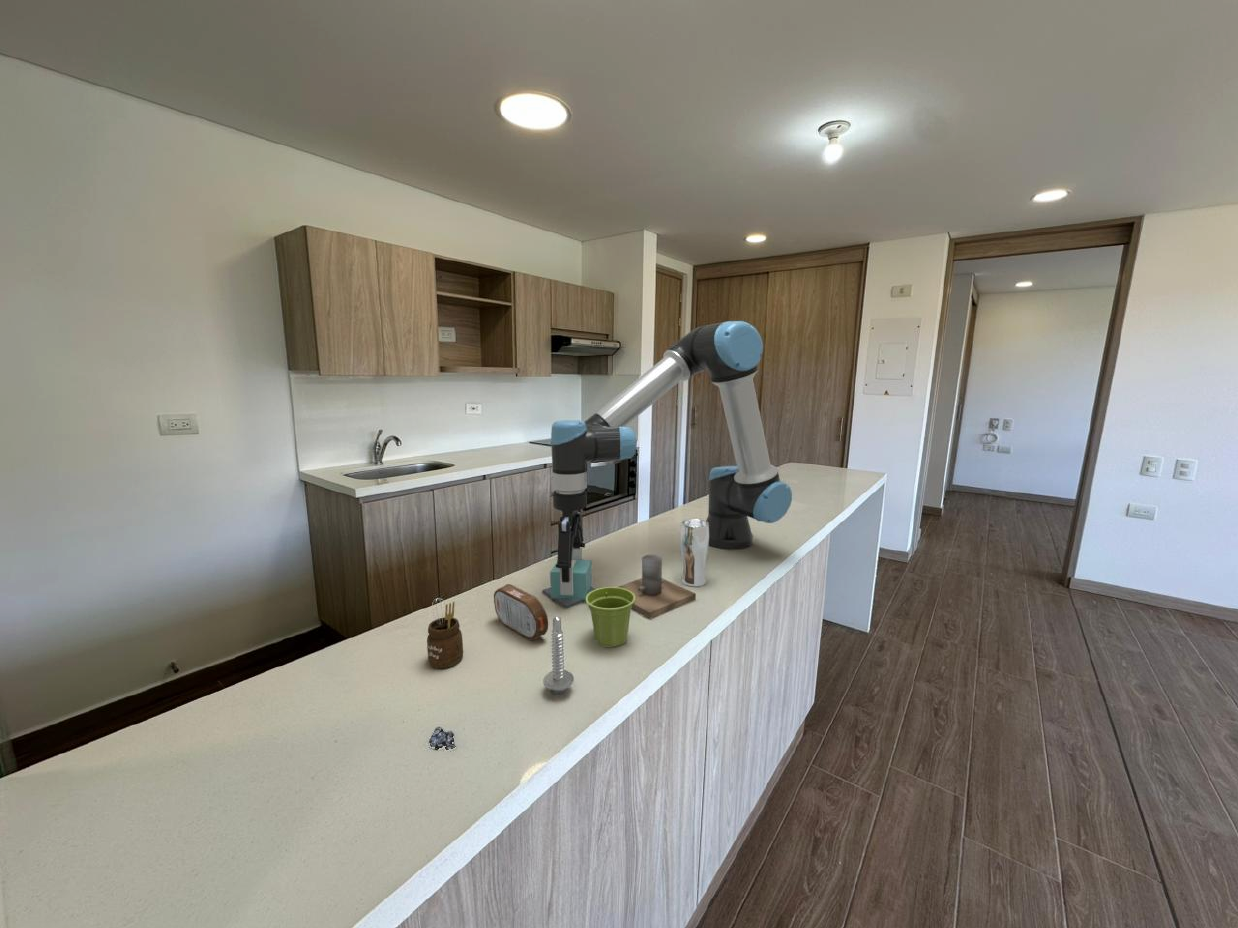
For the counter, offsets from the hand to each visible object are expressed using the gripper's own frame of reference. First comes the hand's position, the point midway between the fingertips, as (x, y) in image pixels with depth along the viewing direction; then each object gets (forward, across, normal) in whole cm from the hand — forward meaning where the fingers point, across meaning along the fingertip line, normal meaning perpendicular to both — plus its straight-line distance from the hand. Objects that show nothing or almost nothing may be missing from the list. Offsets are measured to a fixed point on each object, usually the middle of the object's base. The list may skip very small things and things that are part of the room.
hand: (572, 583), depth 112 cm
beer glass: (+3, -10, +28) cm, 30 cm away
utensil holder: (+3, +28, -17) cm, 33 cm away
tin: (+3, +17, -7) cm, 19 cm away
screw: (+3, +35, +5) cm, 35 cm away
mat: (+3, 0, 0) cm, 3 cm away
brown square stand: (+3, 0, +18) cm, 19 cm away
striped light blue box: (+2, 0, 0) cm, 2 cm away
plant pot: (+3, +18, +11) cm, 22 cm away
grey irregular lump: (+3, +47, -8) cm, 47 cm away
